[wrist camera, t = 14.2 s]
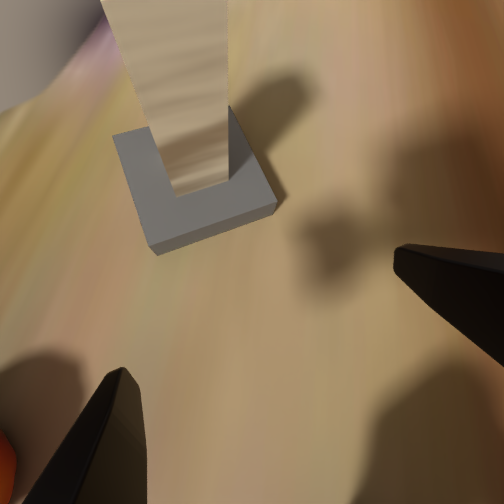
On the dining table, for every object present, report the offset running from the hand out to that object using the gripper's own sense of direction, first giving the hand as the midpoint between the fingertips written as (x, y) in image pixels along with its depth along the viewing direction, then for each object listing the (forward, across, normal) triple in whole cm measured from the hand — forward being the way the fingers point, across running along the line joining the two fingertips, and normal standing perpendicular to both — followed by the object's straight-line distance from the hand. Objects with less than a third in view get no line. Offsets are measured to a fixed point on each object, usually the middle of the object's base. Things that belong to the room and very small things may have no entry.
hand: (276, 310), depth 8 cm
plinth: (+19, -1, 0) cm, 19 cm away
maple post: (+18, -1, -2) cm, 18 cm away
